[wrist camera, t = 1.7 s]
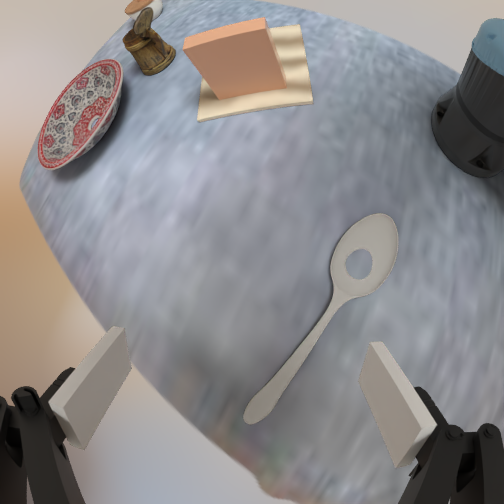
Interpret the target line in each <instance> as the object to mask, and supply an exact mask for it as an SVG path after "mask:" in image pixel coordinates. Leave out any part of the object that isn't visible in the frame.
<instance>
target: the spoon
mask: <svg viewBox="0 0 504 504" xmlns="http://www.w3.org/2000/svg"><path fill="white" fill-rule="evenodd" d="M358 249H365V250H367V251H369V253H370V254H371V256H372V261H373V263H372V269H371V272H370V274H369V275H368V276H367V277H366V278H364V279H361V280H357V279H354V278H352V277H351V276H350V275H349V274H348V272H347V270H346V266H345V263H346V259H347V257H348V256H349V255H350V254H351V253H352V252H354V251H355V250H358ZM397 252H398V231H397V227H396V225H395V223H394V221H393V220H392V218H391V217H389V216H388V215H386V214H382V213H376V214H372V215H369V216H367V217H365V218H363V219H361V220H360V221H358V222H357V223H355V224H354V225H353V226H352V227H350V228H349V229H348V230H347V232H346V233H345V234H344V235H343V236H342V238H341V239H340V241H339V243H338V245H337V247H336V249H335V251H334V254H333V256H332V260H331V266H330V271H331V277H332V281H333V285H334V292H333V297H332V300H331V303H330V305H329V307H328V309H327V310H326V312H325V314H324V315H323V316H322V318H321V319H320V321H319V322H318V323H317V325H316V326H315V327H314V329H313V330H312V331H311V332H310V334H309V335H308V336H307V337H306V339H305V340H304V341H303V342H302V343H301V345H300V346H299V347H298V348H297V350H296V351H295V352H294V353H293V354H292V356H291V357H290V358H289V359H288V361H287V362H286V363H285V364H284V365H283V366H282V368H281V369H280V370H279V371H278V372H277V373H276V375H275V376H274V377H273V378H272V379H271V380H270V381H269V382H268V383H267V384H266V385H265V386H264V387H263V388H262V389H261V390H260V391H259V392H258V393H257V394H255V395H254V397H253V398H252V399H251V400H250V402H249V403H248V405H247V407H246V409H245V412H244V415H243V419H244V421H245V422H246V423H247V424H250V425H252V424H255V423H257V422H259V421H261V420H262V419H264V418H265V417H266V416H267V415H268V414H269V413H270V412H271V411H272V410H273V408H274V407H275V405H276V403H277V402H278V400H279V398H280V397H281V395H282V393H283V392H284V390H285V389H286V387H287V386H288V384H289V383H290V381H291V380H292V378H293V377H294V375H295V374H296V372H297V371H298V369H299V368H300V367H301V365H302V364H303V362H304V361H305V359H306V357H307V356H308V354H309V353H310V351H311V350H312V348H313V347H314V345H315V343H316V342H317V340H318V338H319V337H320V335H321V334H322V332H323V330H324V329H325V327H326V326H327V324H328V322H329V321H330V319H331V318H332V317H333V315H334V314H335V312H336V311H337V310H338V309H339V308H340V307H341V306H342V305H343V304H344V303H346V302H347V301H349V300H351V299H353V298H357V297H363V296H366V295H369V294H371V293H373V292H374V291H376V290H377V289H378V288H379V287H380V286H381V285H382V284H383V283H384V281H385V280H386V279H387V277H388V276H389V274H390V272H391V271H392V269H393V266H394V264H395V261H396V257H397Z"/></svg>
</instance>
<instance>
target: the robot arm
mask: <svg viewBox="0 0 504 504" xmlns="http://www.w3.org/2000/svg"><path fill="white" fill-rule="evenodd" d="M432 129H433V132H434V135H435V138H436V140H437V142H438V144H439V146H440V148H441V149H442V151H443V152H444V153H445V154H446V156H447V157H448V158H449V159H450V160H451V161H452V162H453V163H454V164H455V165H456V166H458V167H459V168H460V169H462V170H463V171H465V172H467V173H469V174H471V175H474V176H477V177H483V178H487V177H492V176H495V175H496V174H498V173H499V172H500V171H502V170H503V169H504V19H498V18H493V19H488V20H486V21H485V22H484V23H483V24H482V25H481V27H480V29H479V31H478V34H477V36H476V37H475V38H474V39H473V41H472V48H471V51H470V54H469V57H468V59H467V62H466V64H465V67H464V69H463V72H462V74H461V76H460V79H459V81H458V83H457V85H456V86H454V87H453V88H452V89H450V90H449V91H448V92H446V93H445V94H444V95H442V96H441V97H440V98H439V100H438V101H437V103H436V105H435V108H434V110H433V113H432ZM131 369H132V367H131V362H130V357H129V351H128V346H127V340H126V334H125V328H121V327H115V326H112V327H111V328H110V330H109V331H108V332H107V333H106V334H105V335H104V336H103V338H102V339H101V340H100V341H99V342H98V343H97V344H96V345H95V347H94V348H93V349H92V350H91V351H90V352H89V354H88V355H87V356H86V357H85V359H83V361H82V362H81V363H80V364H79V365H78V367H77V368H76V369H75V368H71V367H70V368H69V369H67V370H65V371H63V372H62V373H61V374H60V375H59V376H58V378H57V380H55V381H54V382H53V384H52V385H51V386H50V387H49V388H48V389H47V390H46V391H45V393H44V394H43V395H42V396H41V397H40V398H39V396H38V394H37V392H36V390H35V389H34V388H32V387H29V386H24V387H20V388H18V389H16V390H15V391H14V392H13V394H12V397H11V399H12V401H13V403H14V405H15V407H14V406H9V405H8V404H7V402H6V400H5V398H3V397H1V396H0V504H27V499H26V497H27V495H26V493H27V492H26V491H27V477H28V481H29V485H30V490H31V493H32V497H33V501H34V504H85V502H84V499H83V497H82V495H81V492H80V489H79V487H78V484H77V481H76V479H75V476H74V473H73V471H72V467H71V464H70V461H69V458H68V455H67V452H66V448H65V446H64V444H63V441H64V439H65V438H67V440H68V441H69V443H70V445H72V446H74V447H77V448H79V449H82V450H85V448H86V447H87V445H88V443H89V441H90V439H91V438H92V436H93V434H94V432H95V430H96V429H97V427H98V425H99V423H100V422H101V420H102V418H103V416H104V415H105V413H106V411H107V409H108V408H109V406H110V404H111V402H112V401H113V399H114V397H115V396H116V394H117V392H118V391H119V389H120V387H121V386H122V384H123V382H124V381H125V379H126V377H127V376H128V374H129V372H130V371H131ZM358 382H359V384H360V387H361V389H362V391H363V393H364V395H365V398H366V400H367V402H368V404H369V407H370V409H371V411H372V414H373V416H374V418H375V421H376V423H377V425H378V428H379V430H380V432H381V435H382V437H383V439H384V442H385V444H386V447H387V449H388V451H389V454H390V456H391V459H392V461H393V464H394V466H395V468H399V467H403V466H407V465H410V464H411V463H412V461H413V460H414V459H415V457H416V458H417V460H418V464H417V465H416V466H415V468H414V469H413V470H412V472H411V473H410V474H409V476H411V475H412V476H411V478H410V480H409V482H408V485H407V487H406V489H405V491H404V493H403V495H402V497H401V499H400V501H399V503H398V504H448V502H449V499H450V504H504V448H503V443H502V438H501V433H500V431H499V429H498V428H497V427H496V426H495V425H493V424H489V423H486V424H483V425H481V426H480V428H479V429H478V431H477V432H464V431H463V430H462V429H461V428H460V427H458V426H456V425H449V424H448V423H447V421H446V420H445V418H444V417H443V415H442V414H441V412H440V411H439V409H438V408H437V406H435V403H434V402H433V400H432V399H431V397H430V396H429V394H428V393H427V392H426V391H425V390H423V389H422V388H421V387H413V386H412V385H411V383H410V382H409V380H408V379H407V377H406V376H405V374H404V373H403V371H402V370H401V368H400V367H399V365H398V364H397V362H396V361H395V359H394V358H393V357H392V355H391V354H390V352H389V351H388V349H387V348H386V346H385V345H384V344H383V342H370V343H369V347H368V350H367V354H366V357H365V361H364V364H363V367H362V371H361V374H360V377H359V380H358ZM450 496H451V497H450Z"/></svg>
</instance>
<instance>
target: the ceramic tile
mask: <svg viewBox="0 0 504 504" xmlns="http://www.w3.org/2000/svg"><path fill="white" fill-rule="evenodd" d="M183 51H184V52H185V54H186V55H187V56H188V58H189V59H190V60H191V62H192V63H193V64H194V66H195V67H196V68H197V70H198V71H199V72H200V74H201V75H202V77H203V78H204V79H205V81H206V82H207V83H208V85H209V86H210V88H211V89H212V90H213V92H214V93H215V95H216V96H217V98H218V99H219V100H222V99H227V98H231V97H236V96H241V95H247V94H252V93H258V92H264V91H270V90H277V89H284V88H287V84H286V75H285V72H284V69H283V66H282V63H281V60H280V57H279V54H278V52H277V49H276V46H275V43H274V40H273V37H272V35H271V32H270V29H269V27H268V24H267V21H266V19H265V17H263V18H258V19H253V20H248V21H244V22H239V23H235V24H231V25H227V26H223V27H219V28H216V29H212V30H209V31H205V32H202V33H199V34H196V35H193V36H189V37H186V38H185V41H184V46H183Z"/></svg>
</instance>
